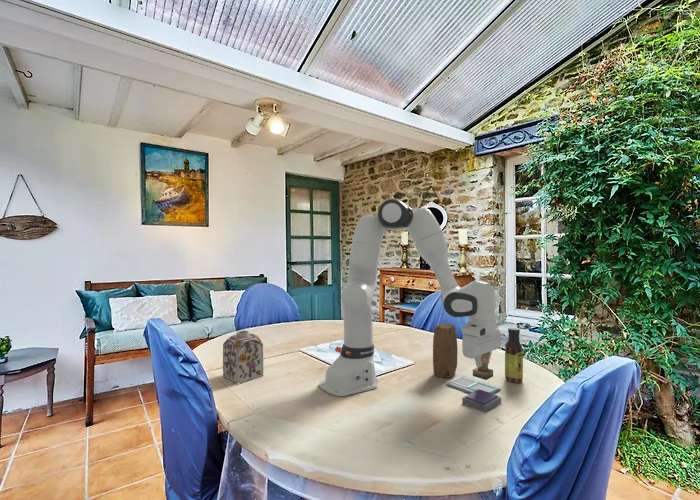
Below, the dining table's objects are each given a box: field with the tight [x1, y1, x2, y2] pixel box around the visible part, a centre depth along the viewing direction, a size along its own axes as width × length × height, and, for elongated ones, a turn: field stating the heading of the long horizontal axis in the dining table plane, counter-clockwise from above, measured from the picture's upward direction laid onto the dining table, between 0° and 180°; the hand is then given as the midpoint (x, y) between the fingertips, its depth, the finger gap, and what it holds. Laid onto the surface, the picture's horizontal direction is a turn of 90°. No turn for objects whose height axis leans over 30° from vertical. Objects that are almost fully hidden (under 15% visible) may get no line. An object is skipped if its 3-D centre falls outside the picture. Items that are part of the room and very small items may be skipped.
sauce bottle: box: [504, 327, 524, 384], centre depth 132 cm, size 6×6×20 cm
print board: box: [446, 375, 501, 394], centre depth 126 cm, size 11×15×1 cm
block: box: [432, 322, 458, 378], centre depth 139 cm, size 11×8×20 cm
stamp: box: [472, 353, 494, 381], centre depth 123 cm, size 5×5×8 cm
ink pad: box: [462, 389, 502, 413], centre depth 114 cm, size 10×8×2 cm
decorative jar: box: [222, 330, 264, 385], centre depth 137 cm, size 12×12×18 cm
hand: (482, 365), depth 123 cm, fingers closed on stamp, 3 cm apart
